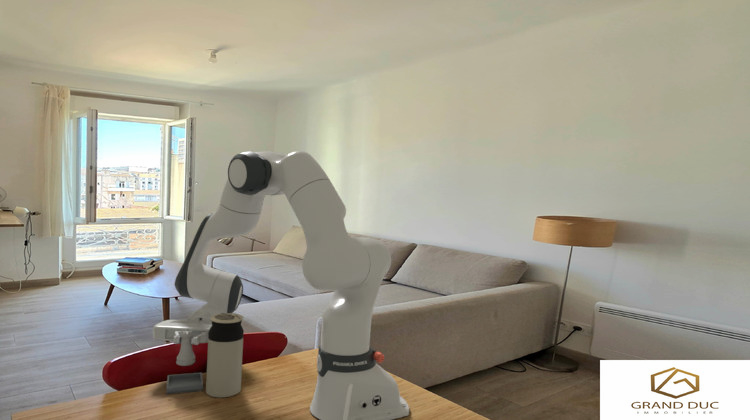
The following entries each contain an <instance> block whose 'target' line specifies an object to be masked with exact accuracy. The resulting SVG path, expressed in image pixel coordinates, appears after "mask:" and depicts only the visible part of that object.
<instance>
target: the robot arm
mask: <svg viewBox="0 0 750 420" xmlns="http://www.w3.org/2000/svg"><path fill="white" fill-rule="evenodd" d="M280 195H285V197H286V199H287V201H288V203H289V205H290V207H291V209H292V210H293V213H294V214H295V216H296V219H297V220H298V223H299V224H300V226H301V228H302V231H303V235H304V236H305V237H304V238H305V243H306V244H305V245H306V251H305V253H304V256H303V258H302V262H301V263H302V266H301V268H302V274H303V277H304V279H305V280H306V282H307V283H308V285H309V286H311V288H314V289H316V290H319V291H327V292H328V291H329V292H333V295H332V297H331V299H330V301H329V303H328V304H327V305H326V307H325V308H324V310H323V312H322V316H321V327H320V328H321V331H320V345H319V346H318V352H317V358H316V359H317V361H316V372H317V379H316V385H315V390H314V393H313V398H312V400H311V402H310V406H309V412H310V413H311V415H312V416H313V417H314V418H316V419H319V420H395V419H401V418H403V417H407V416H409V415H410V406H409V404H408V402H407V401H406V399H405V398H403V396H402V395H400V389H399V386H398V383H397V381H396V379H395V378H394V377H393V376H392V375H391V374H389V372H387V371H386V369H384V368H383V367H381V366H380V365H379V364H381V363H383V362H384V361H385V355H384V354H383V353H382V352H381V351H377V350H376V349H375V348H373V347H371V346H370V344H371V343H370V342H371V329H372V318H373V312H374V308H375V304H376V300H377V297H378V293H379V290H380V287H381V284H382V282H383V280H384V277H385V276H386V275H387V273H388V272H389V271H390V269H391V265H392V255H391V252H390V249H389V248H388V246H387V245H386V244H385V243H384V242H383V241H381V240H379V239H376V238H372V237H367V236H362V237H361V236H360V237H352V236H350V235H349V233H348V231H347V228H346V225H345V220H344V219H345V217H346V215H347V208H346V205H345V203H344V202H343V200H342V199H341V197H340V195H339V193H338V192H337V190H336V188H335V186H334V184H333V183H332V181H331V179H330V178H329V176H328V175H327V173H326V172H325V170H324V169H323V167H322V166H321V165H320V163H318V161H317V160H316V159H315V158H314V157H313V156H312V155H311V154H310V153H309V152H307V151H303V150H297V151H292V152H289V153H283V152H276V151H268V150H267V151H248V150H247V151H243V152H240V153H237V154H235V155H234V156H233V157H232V158H231V160H230V161H229V165H228V168H227V178H226V181H225V184H224V187H223V190H222V193H221V196H220V200H219V204H218V207H217V208H216V210H215V211H214V212H213V213H208V214H207V215H206V216H205V217H204V218H203V219H202V220H201V222H200V225H199V227H198V228H197V231H196V232H195V235H194V237H193V240H192V242H191V245H190V247H189V248H188V249H189V250H188V251H187V254H186V257H184V258H185V259H184V261H183V263H182V264H181V267H180V269H179V270H178V272H177V274H176V276H175V279H174V287H175V290H176V291H177V293H178V294H179V296H180V297H183V298H187V299H188V298H189V299H195V300H197V301H201V302H204V303H205V302H206V303H205V304H204V305H202V306H201V307H199V308H197V310H195V311H193V313H191V314H190V315H189V316H188V317H187V319H166V320H163V321H161V322H159V323H155V325H153V327H152V338H153V339H154V340H155V341H162V342H163V341H168V342H169V341H170V342H173V344H175V345H181V339H182V338H181V336H180V334H181V333H182V330H183V331H184V330H185V329H186V331H188V329H190V331H191V330H192V331H193V333H194V335H193V337H192V338H191V341H192V342H191V345H192V346H194V345H195V346H198V345H199V344H208V336H209V330H210V328H211V326H212V321H211V319H210V318H211V317H212V316H214V315H217V314H224V313H232V314H234V312H235V311H237V309H238V307H240V306H239V305H240V303H241V301H242V298H243V293H244V285H243V282H242V279H241V278H240V276H239V274H235V273H231V272H228V271H225V270H221V269H217V268H214V267H211V266H208V265H205V264H204V263H203V260H204V257H205V255H206V253H207V250H208V247H209V245H210V243H211V241H213V240H217V239H231V238H239V237H242V236H246V235H247V234H249V233H251V232H252V231H253V230H254V229H255V228H256V227H257V225H258V222H259V221H260V217H261V213H262V210H263V209H262V208H263V205H264V200H265V197H266V196H271V197H272V196H273V197H274V196H280ZM378 363H379V364H378Z"/></svg>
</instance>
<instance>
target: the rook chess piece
mask: <svg viewBox="0 0 750 420" xmlns="http://www.w3.org/2000/svg"><path fill="white" fill-rule="evenodd" d="M193 335H194V333H193V331H192V330H191V331H190V329H188V331H186V329H185V330H184V331H183V330H182V333H181V334H180V336H181V338H182V339H181V343H180V350H179V353H178V355H177V356H176V361H175V363H176V365H178V366H180V367H186V366H187V367H188V366H192V365H193V364H194V363H195V362H196V355H195V353H194V351H193V345H191V342H192V341H191V338H192V337H193Z"/></svg>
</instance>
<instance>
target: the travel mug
mask: <svg viewBox="0 0 750 420" xmlns="http://www.w3.org/2000/svg"><path fill="white" fill-rule="evenodd" d="M210 319H211V321H212V326H211V328H210V330H209V336H208V343H207V357H206V358H207V360H206V361H207V362H206V381H205V386H206V387H205V393H206V394H207V395H208V396H210V397H213V398H220V399H221V398H222V399H223V398H224V399H225V398H229V397H232V396H234V395H237V394H239V393H240V392H241V390H242V389H241V388H242V371H243V370H242V369H243V352H244V351H243V349H244V329H243V328H244V327H243V326H242V322H243V321H242V320H244V317H243V315H241V314H238V313H233V314H232V313H224V314H217V315H214V316H212V317H211V318H210Z"/></svg>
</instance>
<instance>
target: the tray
mask: <svg viewBox="0 0 750 420" xmlns="http://www.w3.org/2000/svg"><path fill="white" fill-rule="evenodd" d="M166 380H167V381H166V395H171V394H172V395H174V394H183V393H184V394H185V393H193V392H194V393H195V392H203V391H204V382H203V372H193V373H191V372H190V373H189V372H188V373H180V374H178V373H177V374H168V375H167V379H166Z"/></svg>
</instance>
